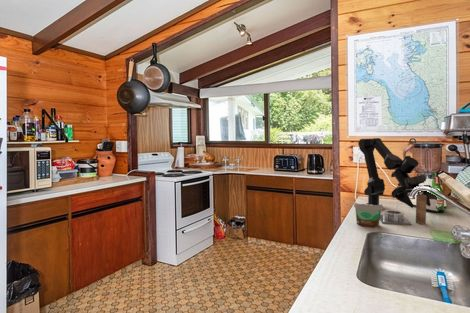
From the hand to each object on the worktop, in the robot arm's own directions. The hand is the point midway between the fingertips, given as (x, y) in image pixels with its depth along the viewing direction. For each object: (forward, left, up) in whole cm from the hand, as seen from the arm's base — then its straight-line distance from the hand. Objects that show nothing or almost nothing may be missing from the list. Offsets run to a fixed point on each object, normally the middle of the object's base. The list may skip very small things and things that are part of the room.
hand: (421, 206), depth 141 cm
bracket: (-2, -11, -8) cm, 14 cm away
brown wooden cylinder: (0, 0, -8) cm, 8 cm away
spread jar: (-27, +13, -8) cm, 31 cm away
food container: (+9, -24, -8) cm, 27 cm away
